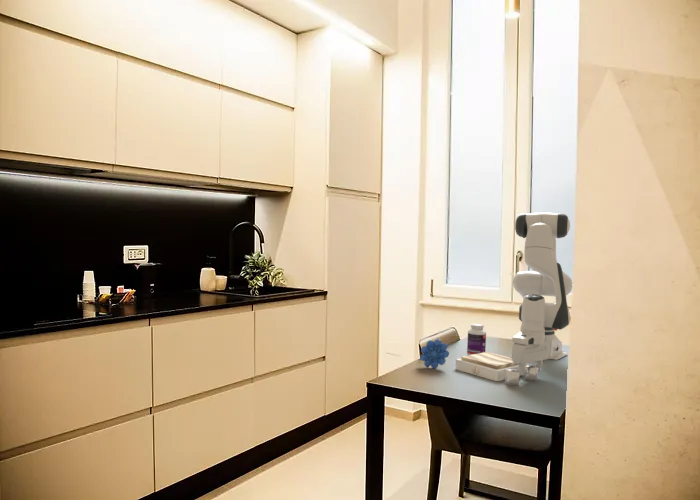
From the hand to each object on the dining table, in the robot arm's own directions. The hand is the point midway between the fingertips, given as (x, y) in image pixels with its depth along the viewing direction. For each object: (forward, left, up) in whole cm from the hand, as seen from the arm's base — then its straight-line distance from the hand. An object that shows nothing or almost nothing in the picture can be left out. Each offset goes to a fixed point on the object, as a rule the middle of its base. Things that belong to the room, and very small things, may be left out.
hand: (530, 373), depth 197 cm
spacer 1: (+12, 0, -3) cm, 12 cm away
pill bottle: (-12, -35, -3) cm, 37 cm away
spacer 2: (0, 0, -3) cm, 3 cm away
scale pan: (+4, -15, +2) cm, 16 cm away
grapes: (+20, -31, -3) cm, 37 cm away
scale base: (+4, -15, -2) cm, 16 cm away
